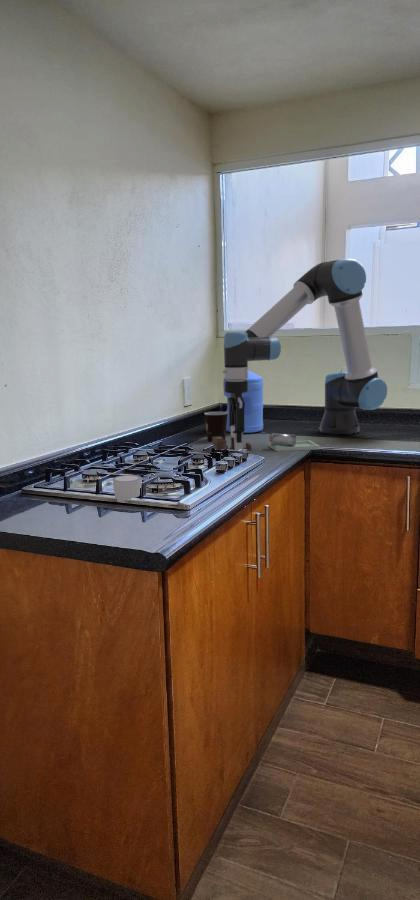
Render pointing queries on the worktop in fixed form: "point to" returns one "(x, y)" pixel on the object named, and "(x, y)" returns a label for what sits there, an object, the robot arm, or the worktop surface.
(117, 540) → the worktop surface
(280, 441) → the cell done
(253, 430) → the water jug
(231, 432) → the cell
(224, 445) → the brown wooden stand
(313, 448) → the pale green tray
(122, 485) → the light grey cup
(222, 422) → the coffee mug
